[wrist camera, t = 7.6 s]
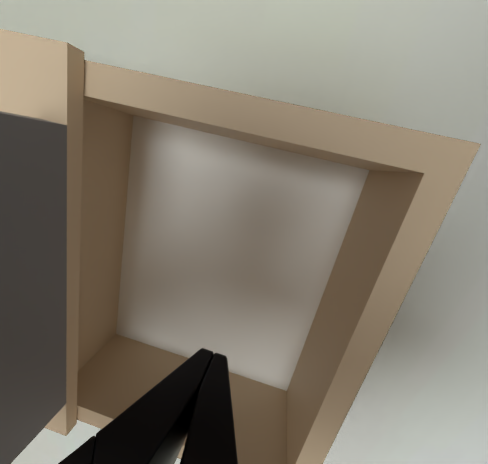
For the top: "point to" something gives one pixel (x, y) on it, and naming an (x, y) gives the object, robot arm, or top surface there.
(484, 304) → the top surface
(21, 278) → the lid
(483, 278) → the top surface
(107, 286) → the mailer box
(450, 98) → the top surface
